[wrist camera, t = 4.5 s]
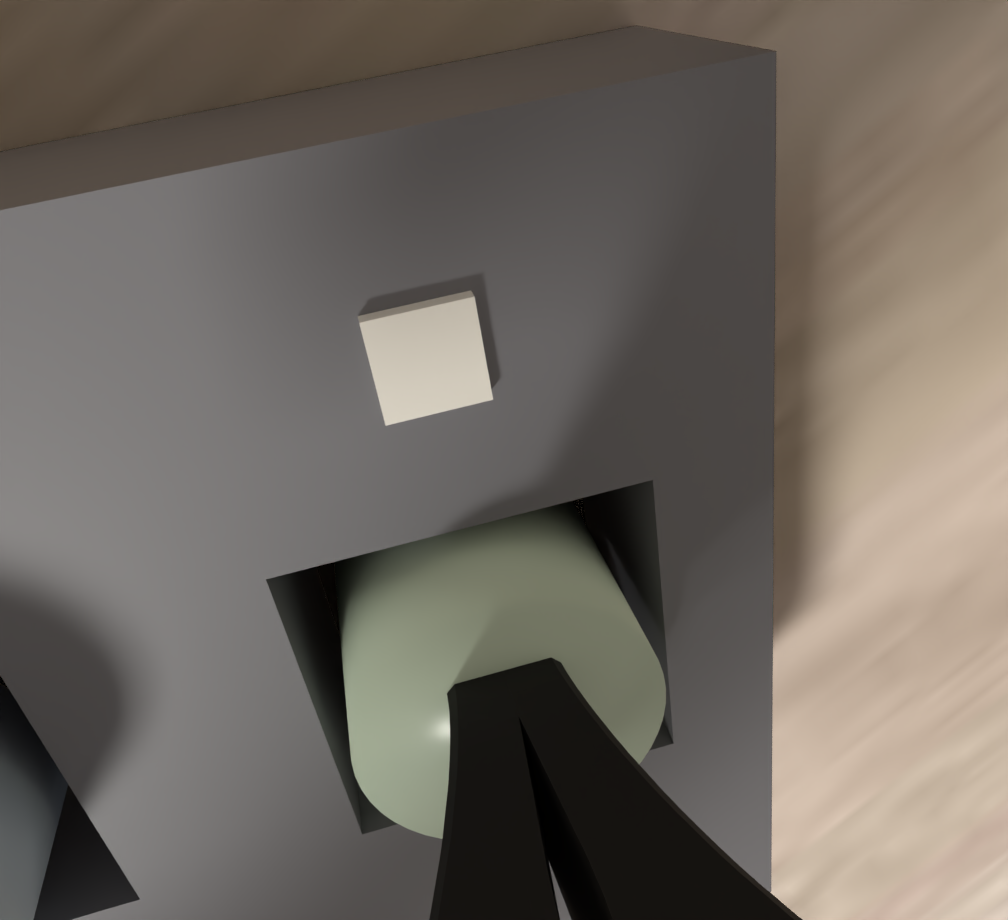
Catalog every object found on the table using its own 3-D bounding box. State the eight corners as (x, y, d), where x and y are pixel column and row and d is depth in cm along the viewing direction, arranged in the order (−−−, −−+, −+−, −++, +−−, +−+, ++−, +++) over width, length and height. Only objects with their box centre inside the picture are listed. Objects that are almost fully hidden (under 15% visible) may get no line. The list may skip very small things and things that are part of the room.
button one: (594, 624, 15) (674, 790, 12) (368, 686, 15) (391, 874, 12) (568, 424, 13) (656, 564, 10) (304, 489, 13) (311, 656, 10)
